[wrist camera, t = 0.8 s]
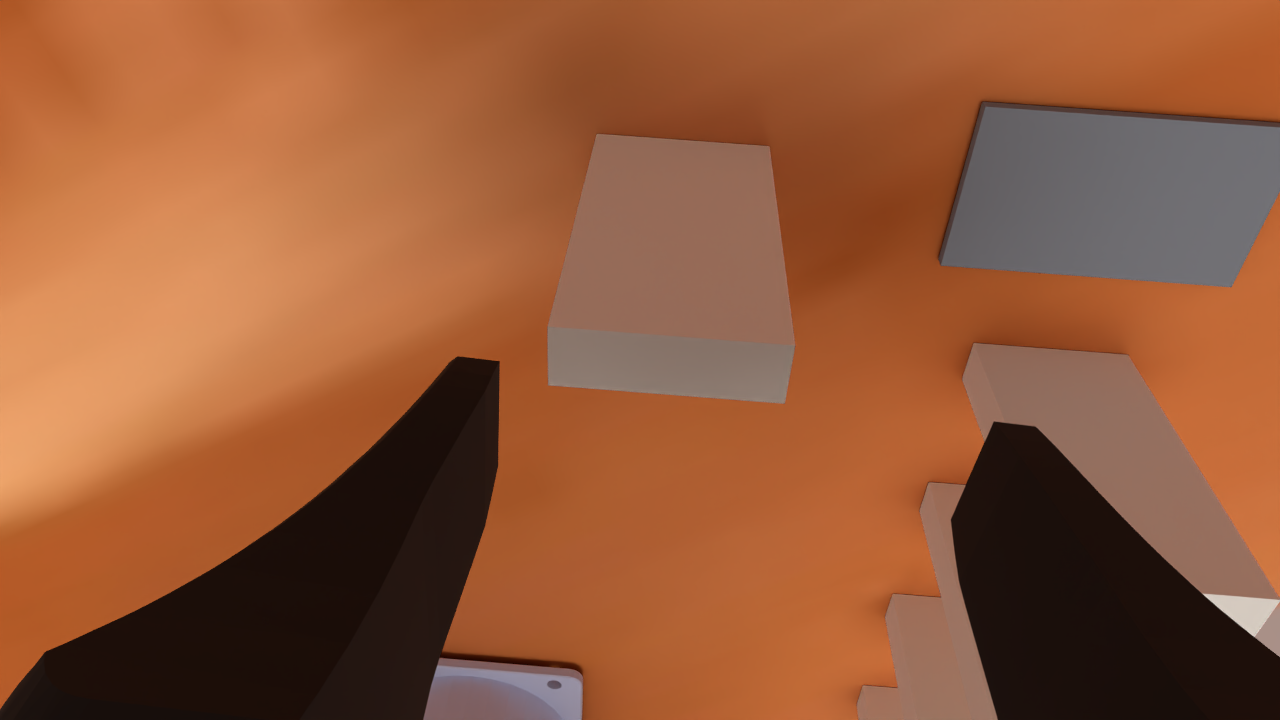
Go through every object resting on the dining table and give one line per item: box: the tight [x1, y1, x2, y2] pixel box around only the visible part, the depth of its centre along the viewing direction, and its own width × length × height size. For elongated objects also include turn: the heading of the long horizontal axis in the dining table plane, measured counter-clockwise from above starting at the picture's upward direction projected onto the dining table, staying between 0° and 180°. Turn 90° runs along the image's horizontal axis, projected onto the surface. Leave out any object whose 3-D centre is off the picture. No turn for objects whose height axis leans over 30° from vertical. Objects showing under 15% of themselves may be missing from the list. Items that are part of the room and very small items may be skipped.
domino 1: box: [548, 134, 795, 404], centre depth 18 cm, size 4×1×8 cm, turn 87°
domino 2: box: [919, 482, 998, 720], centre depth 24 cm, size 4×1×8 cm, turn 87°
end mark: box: [938, 102, 1280, 287], centre depth 21 cm, size 7×4×1 cm, turn 87°
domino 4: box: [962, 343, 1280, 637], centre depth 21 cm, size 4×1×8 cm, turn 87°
